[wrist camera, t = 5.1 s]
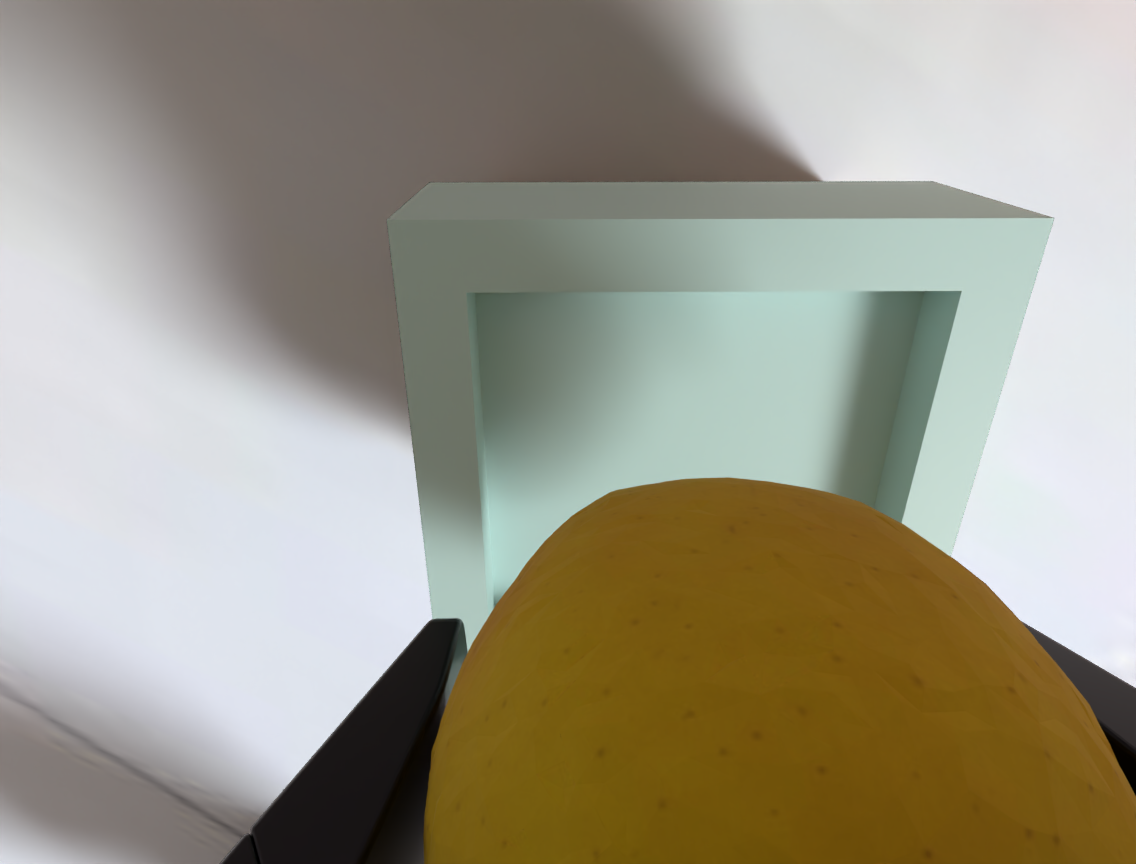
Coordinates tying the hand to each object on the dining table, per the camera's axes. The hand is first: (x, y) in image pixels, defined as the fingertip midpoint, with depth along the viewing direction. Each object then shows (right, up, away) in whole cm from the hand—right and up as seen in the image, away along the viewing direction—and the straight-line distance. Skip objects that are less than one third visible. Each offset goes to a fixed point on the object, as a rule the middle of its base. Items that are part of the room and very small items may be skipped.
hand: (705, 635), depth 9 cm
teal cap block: (0, +3, +5) cm, 6 cm away
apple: (0, +1, +2) cm, 2 cm away
